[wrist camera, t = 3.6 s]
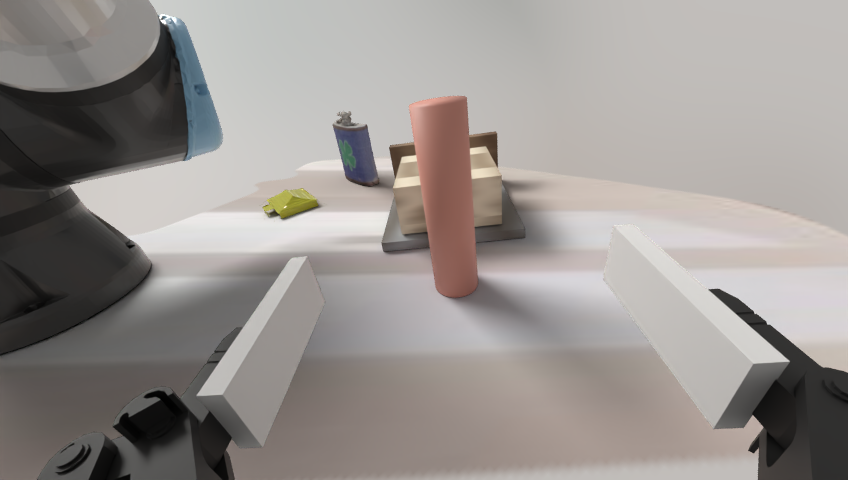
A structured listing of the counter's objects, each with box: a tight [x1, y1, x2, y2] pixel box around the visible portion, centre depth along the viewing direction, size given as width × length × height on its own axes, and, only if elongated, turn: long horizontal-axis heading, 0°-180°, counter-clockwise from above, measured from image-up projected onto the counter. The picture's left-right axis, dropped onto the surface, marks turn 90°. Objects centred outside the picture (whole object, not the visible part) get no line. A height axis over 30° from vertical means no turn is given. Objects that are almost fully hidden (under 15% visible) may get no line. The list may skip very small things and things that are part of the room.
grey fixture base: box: [382, 132, 525, 251], centre depth 36 cm, size 14×16×6 cm
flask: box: [333, 111, 379, 186], centre depth 49 cm, size 9×3×11 cm, turn 38°
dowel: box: [409, 96, 478, 298], centre depth 23 cm, size 4×4×14 cm
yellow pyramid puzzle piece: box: [260, 188, 319, 219], centre depth 46 cm, size 10×9×3 cm
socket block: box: [393, 146, 502, 234], centre depth 34 cm, size 10×10×5 cm
